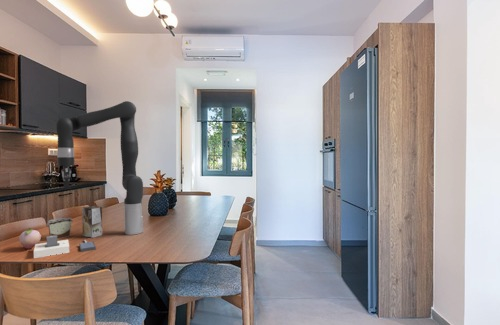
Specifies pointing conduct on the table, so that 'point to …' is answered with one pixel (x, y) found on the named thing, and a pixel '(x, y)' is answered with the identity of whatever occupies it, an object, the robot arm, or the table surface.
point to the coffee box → (92, 221)
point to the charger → (51, 241)
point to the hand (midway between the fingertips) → (66, 187)
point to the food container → (60, 227)
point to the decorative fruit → (29, 238)
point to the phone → (87, 246)
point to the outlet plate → (51, 249)
